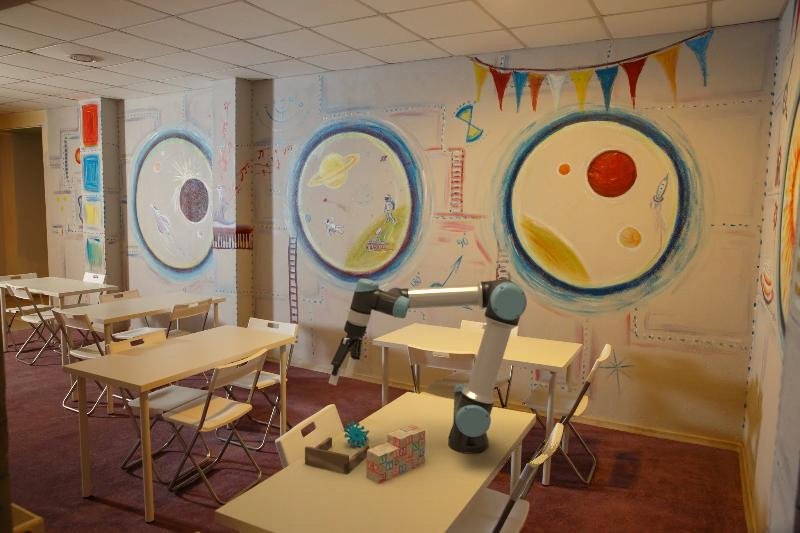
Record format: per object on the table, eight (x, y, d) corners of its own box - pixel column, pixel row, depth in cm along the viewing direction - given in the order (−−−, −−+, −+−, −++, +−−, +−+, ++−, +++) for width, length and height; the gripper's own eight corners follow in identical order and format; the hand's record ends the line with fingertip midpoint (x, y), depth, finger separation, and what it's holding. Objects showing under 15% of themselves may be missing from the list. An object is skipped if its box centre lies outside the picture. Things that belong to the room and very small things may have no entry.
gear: (350, 447, 193) (342, 421, 198) (342, 454, 196) (334, 429, 202) (374, 444, 200) (366, 419, 205) (367, 451, 203) (359, 426, 209)
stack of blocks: (378, 484, 170) (379, 447, 169) (365, 477, 175) (366, 440, 173) (424, 463, 185) (425, 429, 184) (411, 457, 189) (412, 424, 188)
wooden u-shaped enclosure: (329, 446, 197) (329, 430, 197) (369, 454, 191) (369, 438, 190) (304, 464, 182) (304, 447, 182) (347, 474, 176) (347, 456, 175)
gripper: (360, 315, 199) (345, 368, 201) (332, 323, 175) (315, 383, 177) (378, 322, 197) (363, 376, 199) (352, 330, 173) (335, 391, 175)
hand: (340, 379), depth 188 cm, fingers open, 13 cm apart
